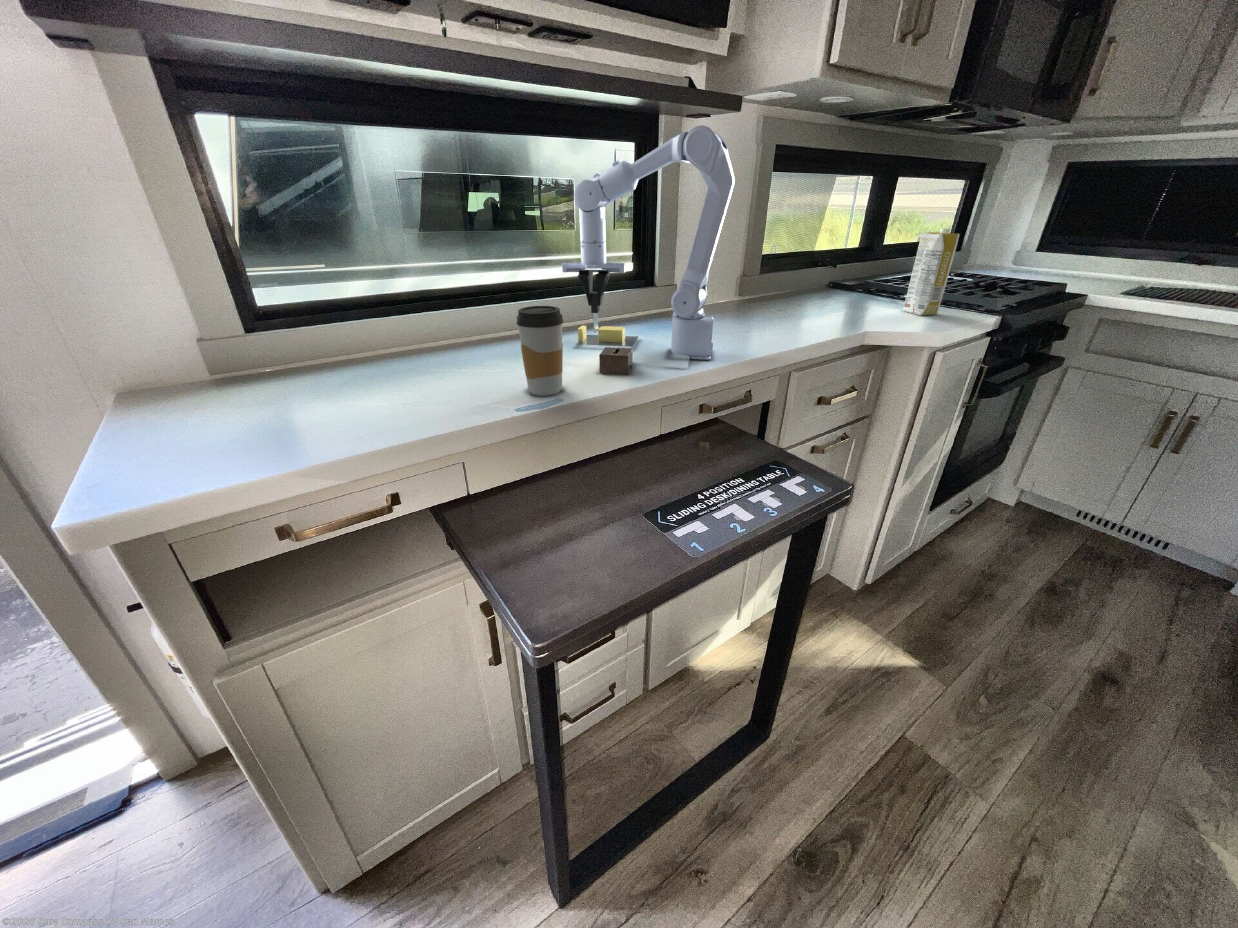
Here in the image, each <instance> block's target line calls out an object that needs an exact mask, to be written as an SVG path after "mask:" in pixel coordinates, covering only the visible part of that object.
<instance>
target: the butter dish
mask: <svg viewBox="0 0 1238 928" xmlns="http://www.w3.org/2000/svg"><path fill="white" fill-rule="evenodd" d="M638 338H639V335H638V336H637V335H636V336H635V335H633V336H632V335H625V339H624V341H623V342H622V343H617V342H599V341H598V334H586V339H585V340H584V341H577V343H576V345H579V346H581V345H584V346H605V347H609V346H610V347H630V348H633V347H634V345H635V343H636V342H637V340H638Z"/></svg>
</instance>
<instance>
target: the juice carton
mask: <svg viewBox="0 0 1238 928" xmlns="http://www.w3.org/2000/svg"><path fill="white" fill-rule="evenodd" d="M951 231H952V229H951V228H942V227H941V228H940V231H939V232H937V231H931V232H922V233H921V235H920V240H919V242H918V243H919V244H918V247H917V251H916V256H915V259H914V264H913V267H912V272H911V276H910V280H909V284H908V288H907V292H906V296H905V300H904V305H903V307H902V310H903V311H904V312H906V313H910V314H914V315H917V316H931V315H934V316H935V315H937V314H938V313H939V311H940V307H941V303H942V301H943V296H944V293H945V290H946V285H947V282H948V278H949V276H950V271H951V267H952V264H953V261H954V257H955V253H956V250H957V246H958V242H959V237H960V233H951Z"/></svg>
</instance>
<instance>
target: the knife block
mask: <svg viewBox="0 0 1238 928" xmlns="http://www.w3.org/2000/svg"><path fill="white" fill-rule="evenodd" d="M633 350H634V349H633V347H613V346H610V347H609V346H605V347H604V348H603V349H602V351H601V352H600V353H599V355H598V357H599V359H598V360H599V374H602V375H623V376H624V375H625V376H628V375H630V372H631V371H632V368H633V366H634V365H633V361H634V357H633V355H634V353H633Z"/></svg>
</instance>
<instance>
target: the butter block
mask: <svg viewBox="0 0 1238 928" xmlns="http://www.w3.org/2000/svg"><path fill="white" fill-rule="evenodd" d="M597 333H598V334H597V335H598V341H599V342H617V343H622V342H623V341H624V339H625V336H626V326H611V325H609V326H607V325H606V326H605V325H601V326H600V327H598V330H597Z"/></svg>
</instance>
